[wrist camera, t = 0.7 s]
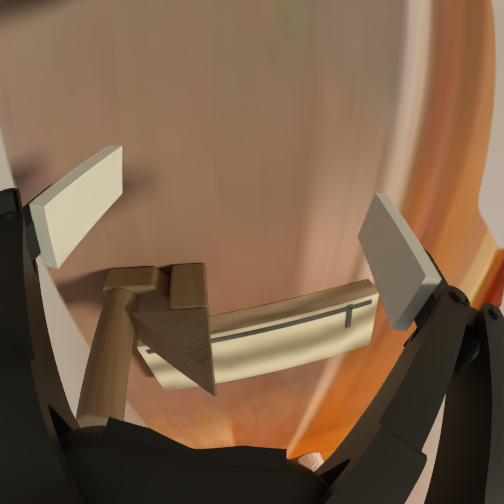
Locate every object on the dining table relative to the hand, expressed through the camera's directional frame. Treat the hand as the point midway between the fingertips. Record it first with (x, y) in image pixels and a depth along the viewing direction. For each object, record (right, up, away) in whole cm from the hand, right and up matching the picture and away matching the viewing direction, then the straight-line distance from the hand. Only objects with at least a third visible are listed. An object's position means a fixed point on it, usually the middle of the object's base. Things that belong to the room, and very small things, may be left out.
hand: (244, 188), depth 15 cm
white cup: (+17, -63, +58) cm, 87 cm away
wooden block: (-10, -6, +18) cm, 21 cm away
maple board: (+2, -14, +24) cm, 28 cm away
